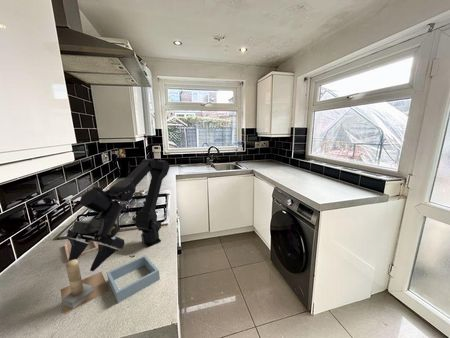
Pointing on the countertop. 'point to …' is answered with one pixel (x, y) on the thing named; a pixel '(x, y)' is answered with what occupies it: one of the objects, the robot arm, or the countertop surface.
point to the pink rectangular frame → (82, 252)
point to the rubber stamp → (76, 285)
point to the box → (136, 285)
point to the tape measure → (114, 230)
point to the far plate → (98, 288)
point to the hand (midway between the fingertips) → (80, 268)
